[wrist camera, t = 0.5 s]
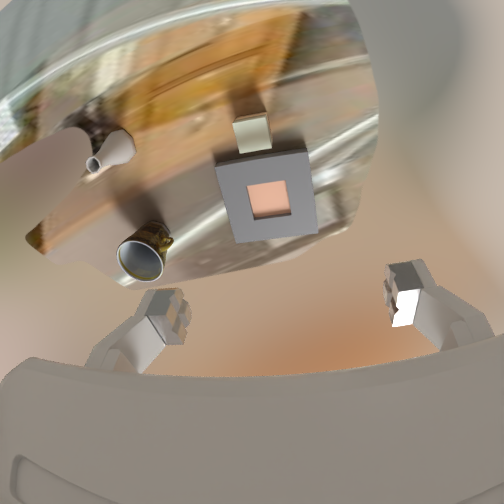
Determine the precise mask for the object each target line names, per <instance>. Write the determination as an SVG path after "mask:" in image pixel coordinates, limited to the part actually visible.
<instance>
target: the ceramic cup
mask: <svg viewBox="0 0 504 504" xmlns="http://www.w3.org/2000/svg"><path fill="white" fill-rule="evenodd" d="M169 240H170V242H169ZM173 242H174V240H173V238H171V237H170V232H169V230H168V229H167V228H166V226H165V225H164V224H162V223H158V222H155V221H150V222H149V223H147V224H145V225H144V226H142V227H141V228H140V229H139V230H137V231H136V232H135V233H134V234H133V235H131V236H130V237H128V238H127V239H126V240H124V241H123V242H122V243H121V244H120V245H119V247H118V249H117V253H116V256H117V261H118V263H119V265H120V267H121V268H122V270H123V271H124V272H125V273H126V274H128V275H129V276H130V277H132V278H134V279H136V280H139V281H143V282H151V281H155V280H157V279H158V278H159V277H160V276H161V275H162V273H163V269H164V266H165V261H166V253H167V249H168V248H169V247H170V246H171V245H172V244H173Z"/></svg>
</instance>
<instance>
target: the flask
mask: <svg viewBox="0 0 504 504" xmlns="http://www.w3.org/2000/svg"><path fill="white" fill-rule="evenodd" d="M135 154H136V150H135V145H134V141H133V138H132V137H131V136H130V135H129V134H128V133H126V132H125V131H124V130H123V129H122V130H118V131H114V132H111V133H110V134H109V135H108V137H107V138H106V140H105V141H104V143H103V144H102V146H101V148H100V150H99V152H98V153H97V154H96V155H94V156H91V157H89V158H88V159H87V161H86V166H87V169H88V170H89V171H90V172H91V173H92V174H94V173H98V172H99V171H100V169H101V168H102V167H104V166H107V165H118V164H123V163H128V162H129V161H130V160H131V159H132V157H133V156H134V155H135Z"/></svg>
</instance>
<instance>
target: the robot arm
mask: <svg viewBox="0 0 504 504" xmlns="http://www.w3.org/2000/svg"><path fill="white" fill-rule="evenodd" d="M385 276H386V280H385V281H384V284H383V292H384V300H385V303H386V305H387V306H388V307H389V308H390V309H389V316H390V319H391V322H392V326H400V325H406V324H413V325H414V326H415V327H416V328H417V329H418V330H419V331H420V332H421V333H422V334H423V335H424V336H425V337H426V338H428V339H429V340H430V341H431V342H432V343H433V344H434V345H435V346H436V347H437V348H438V349H439V350H440V352H438V353H433V354H429V355H425V356H420V357H415V358H410V359H406V360H400V361H395V362H390V363H384V364H378V365H371V366H365V367H359V368H351V369H344V370H336V371H326V372H316V373H305V374H293V375H277V376H256V377H255V376H254V377H192V376H191V377H190V376H168V375H154V374H141V373H142V372H143V371H144V370H145V369H146V368H147V367H148V366H149V364H150V363H151V362H152V361H153V360H154V359H155V358H156V357H157V355H158V354H159V353H160V352H161V351H162V350H163V349H164V347H165V346H166V345H181V344H184V341H185V338H186V335H187V331H186V329H185V328H186V327H187V326H188V325H189V324H190V321H191V309H190V305H189V303H188V302H187V301H185V300H184V299H183V297H184V294H183V291H182V289H180V288H165V289H151V290H147V291H146V292H145V295H144V296H143V298H142V300H141V302H140V304H139V307H138V308H137V311H136V313H135V315H134V316H131V317H130V318H129V319H127V320H126V321H125V322H123V323H122V324H121V325H120V326H118V327H117V328H116V329H115V330H114V331H113V332H111V333H110V334H109V335H107V336H106V337H105V338H104V339H103V340H101V341H100V342H99V343H98V344H96V345H95V346H94V347H93V349H92V352H91V353H90V356H89V358H88V360H87V362H86V364H85V366H84V367H83V366H76V365H71V364H65V363H59V362H54V361H48V360H44V359H40V358H36V357H30V358H28V359H26V360H25V361H23V362H21V363H20V364H19V365H18V366H16V367H15V368H14V369H12V370H11V371H10V372H9V373H8V374H7V375H6V376H5V377H4V379H3V380H2V381H1V383H0V504H504V334H501V335H498V336H495V335H494V333H493V331H492V329H491V327H490V325H489V323H488V321H487V319H486V317H485V315H484V313H482V312H481V311H479V310H478V309H476V308H475V307H473V306H472V305H470V304H469V303H467V302H465V301H464V300H462V299H461V298H459V297H458V296H456V295H455V294H453V293H451V292H450V291H448V290H447V289H445V288H443V287H442V286H437V285H436V283H435V281H434V279H433V277H432V276H431V273H430V272H429V270H428V268H427V266H426V264H425V263H424V261H423V260H422V259H417V260H411V261H407V262H401V263H393V264H386V266H385Z"/></svg>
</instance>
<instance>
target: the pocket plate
mask: <svg viewBox="0 0 504 504" xmlns="http://www.w3.org/2000/svg"><path fill="white" fill-rule="evenodd" d="M215 171H216V174H217V178H218V181H219V185H220V188H221V192H222V195H223V199H224V202H225V206H226V209H227V213H228V216H229V220H230V223H231V227H232V230H233V234H234V237H235V241H236V243H244V242H251V241H259V240H267V239H275V238H282V237H290V236H298V235H306V234H314V233H318V226H317V217H316V208H315V200H314V192H313V184H312V177H311V170H310V163H309V156H308V151H307V148H303V149H296V150H289V151H282V152H276V153H269V154H263V155H257V156H251V157H246V158H240V159H235V160H230V161H224V162H219V163H217V164H216V166H215Z"/></svg>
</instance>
